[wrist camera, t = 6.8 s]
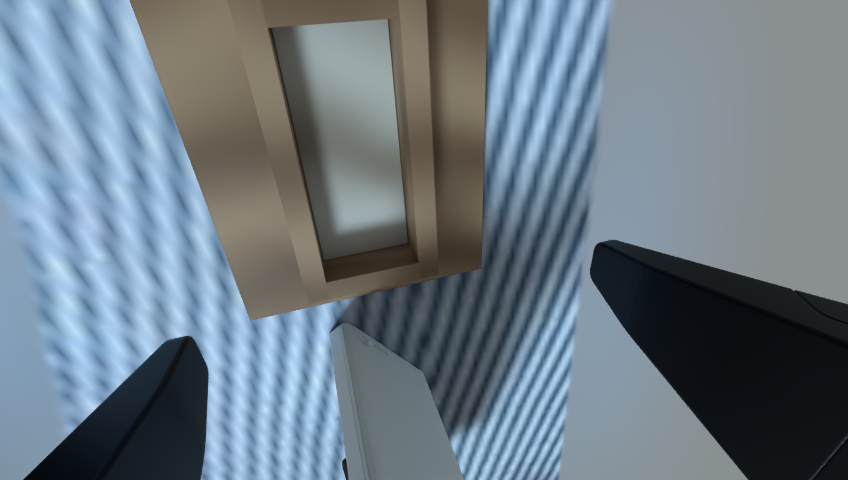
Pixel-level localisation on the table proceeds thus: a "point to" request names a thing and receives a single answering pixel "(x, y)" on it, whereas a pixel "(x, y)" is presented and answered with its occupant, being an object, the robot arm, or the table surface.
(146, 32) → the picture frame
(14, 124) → the table surface
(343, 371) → the external hard drive
